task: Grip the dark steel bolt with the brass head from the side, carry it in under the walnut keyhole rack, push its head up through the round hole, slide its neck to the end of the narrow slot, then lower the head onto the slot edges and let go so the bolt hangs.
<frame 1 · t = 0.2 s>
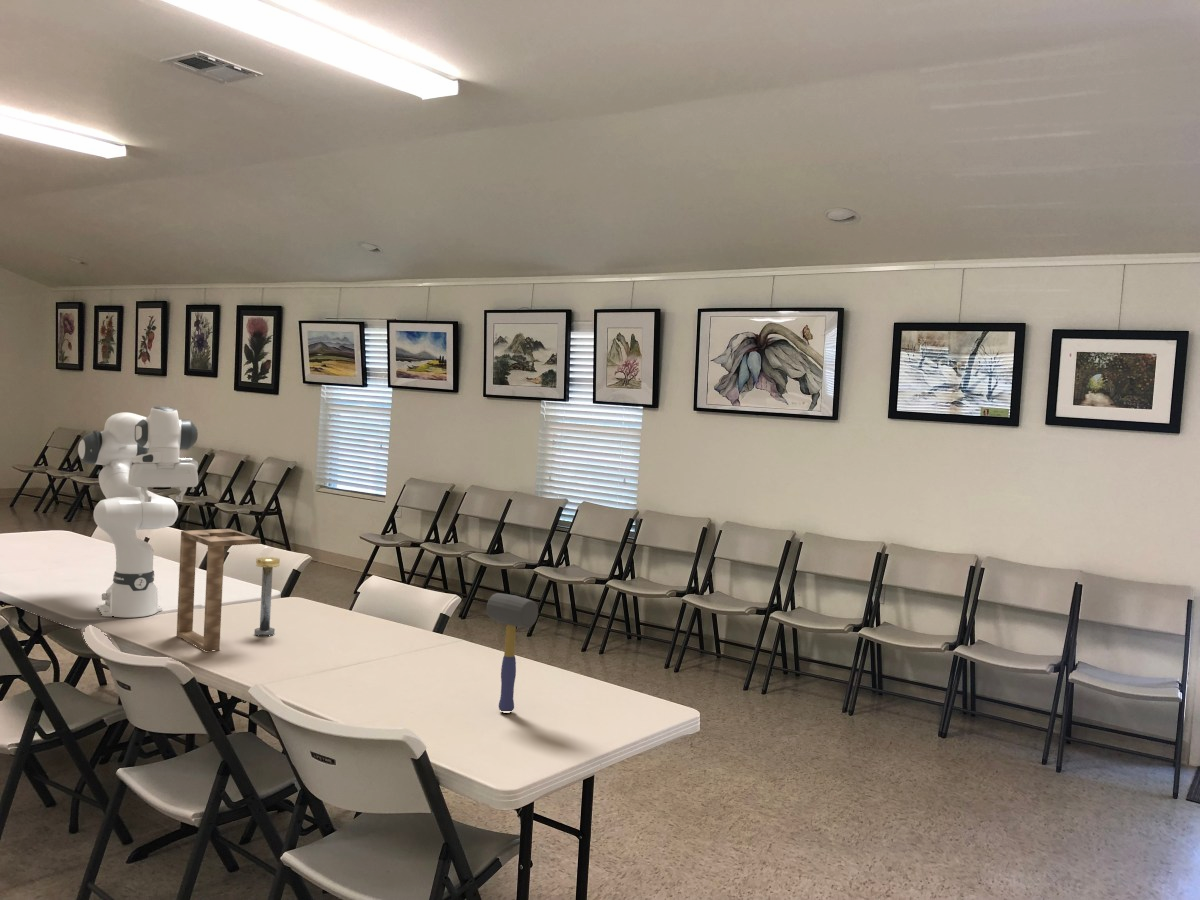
hand: (163, 501, 295), 40 cm above the table, tool pointing down, fingers open, 8 cm apart
keyhole rack: (214, 640, 287), on the table
hanger bolt: (264, 634, 298), on the table
rubber mallet: (505, 713, 238), on the table
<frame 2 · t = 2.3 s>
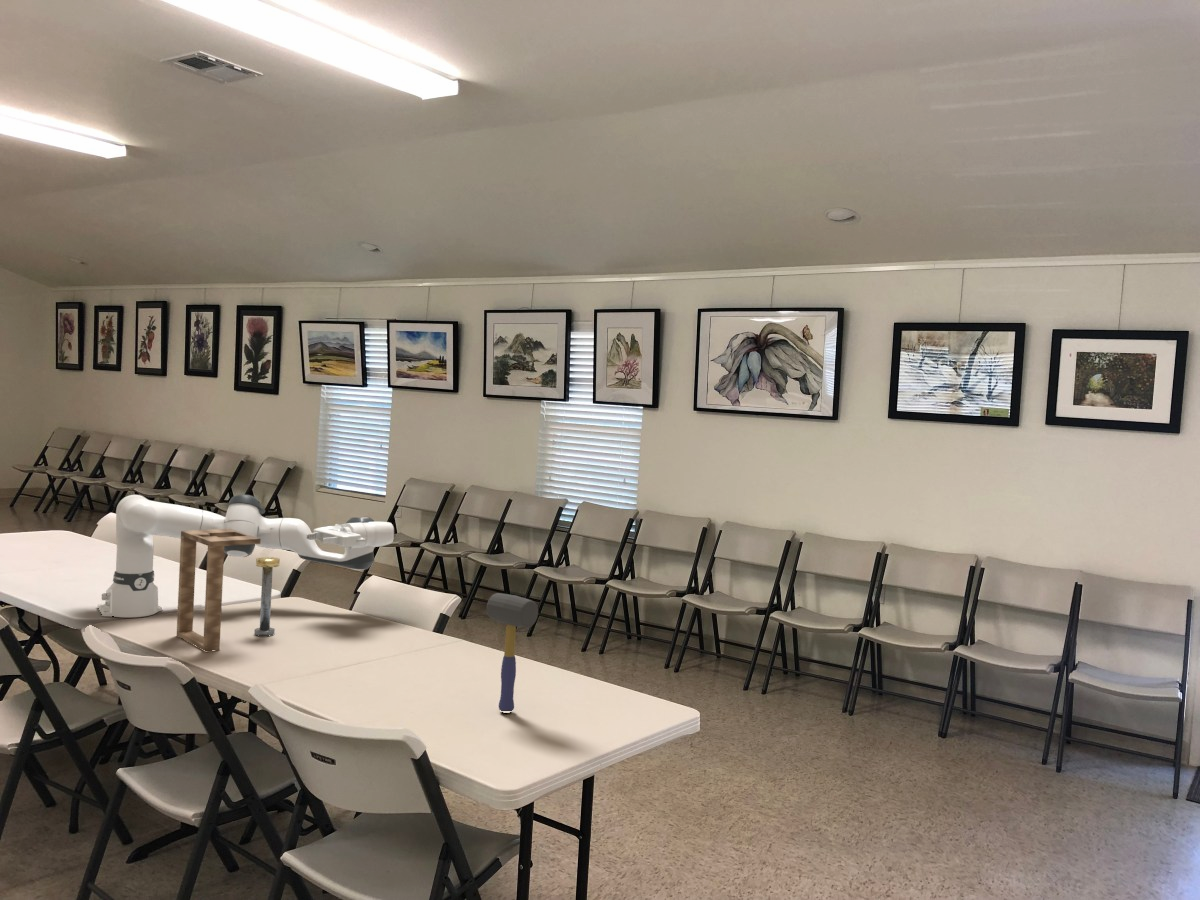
hand: (315, 538, 309), 29 cm above the table, tool horizontal, fingers open, 8 cm apart
nothing on the table moved.
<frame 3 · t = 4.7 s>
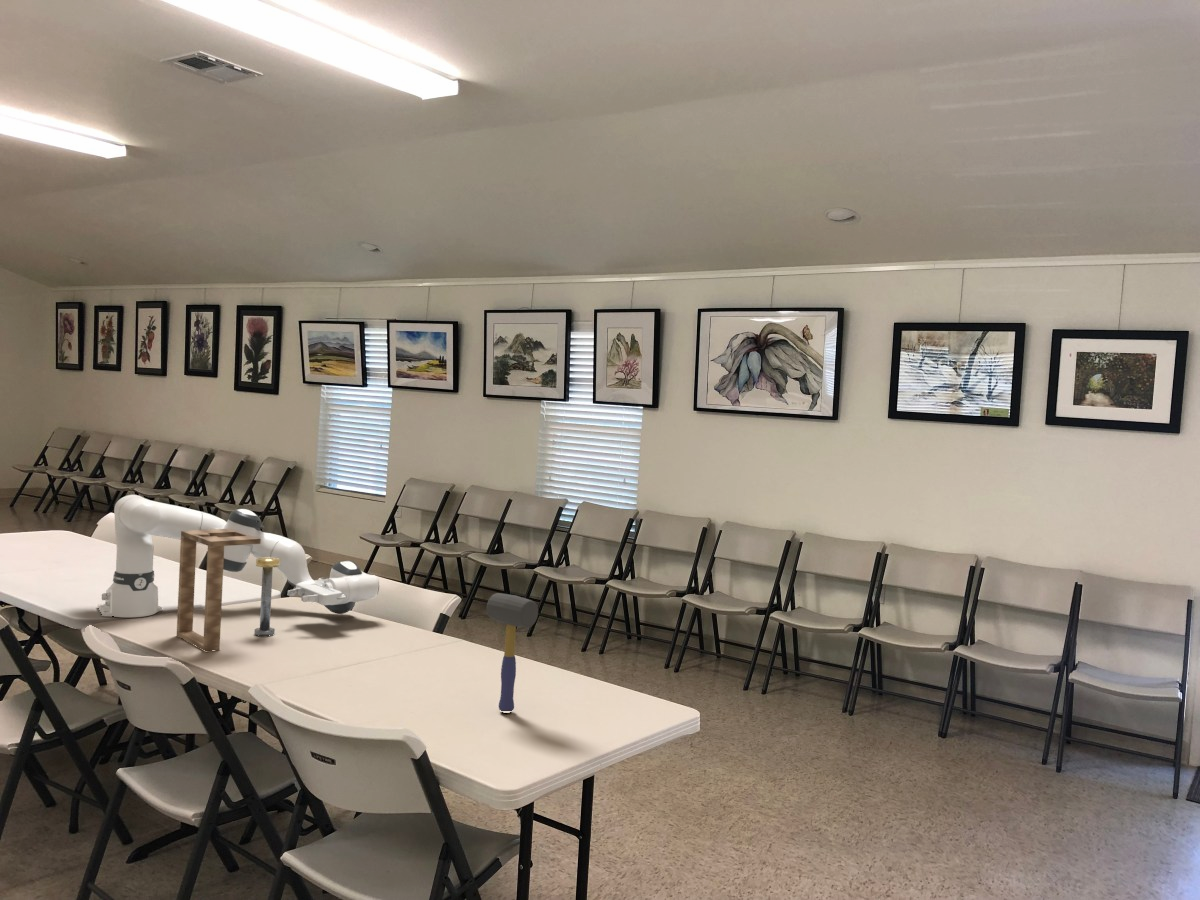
hand: (295, 596, 303), 12 cm above the table, tool horizontal, fingers open, 8 cm apart
nothing on the table moved.
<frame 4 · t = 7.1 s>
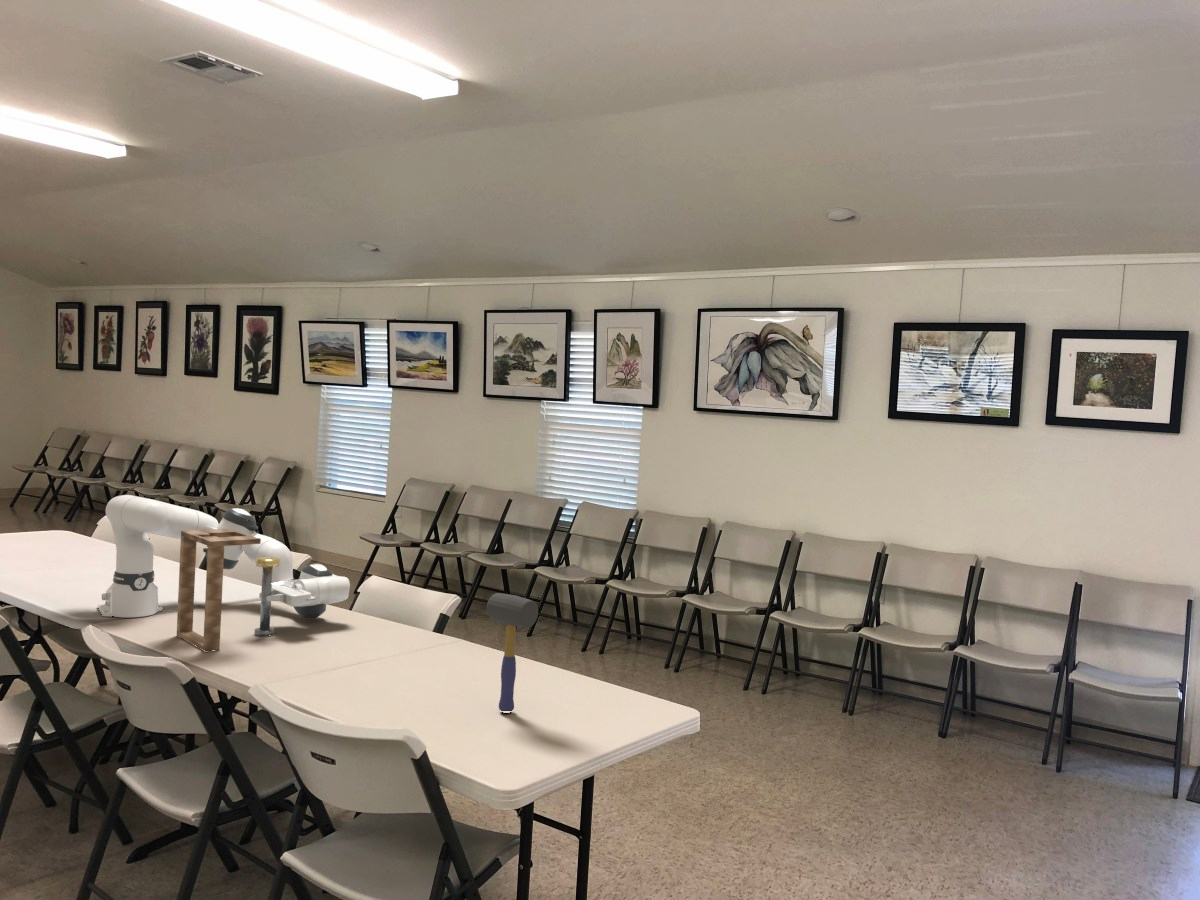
hand: (263, 597, 297), 12 cm above the table, tool horizontal, fingers closed on hanger bolt, 3 cm apart
hanger bolt: (264, 634, 298), on the table, touching gripper
everything else where it was.
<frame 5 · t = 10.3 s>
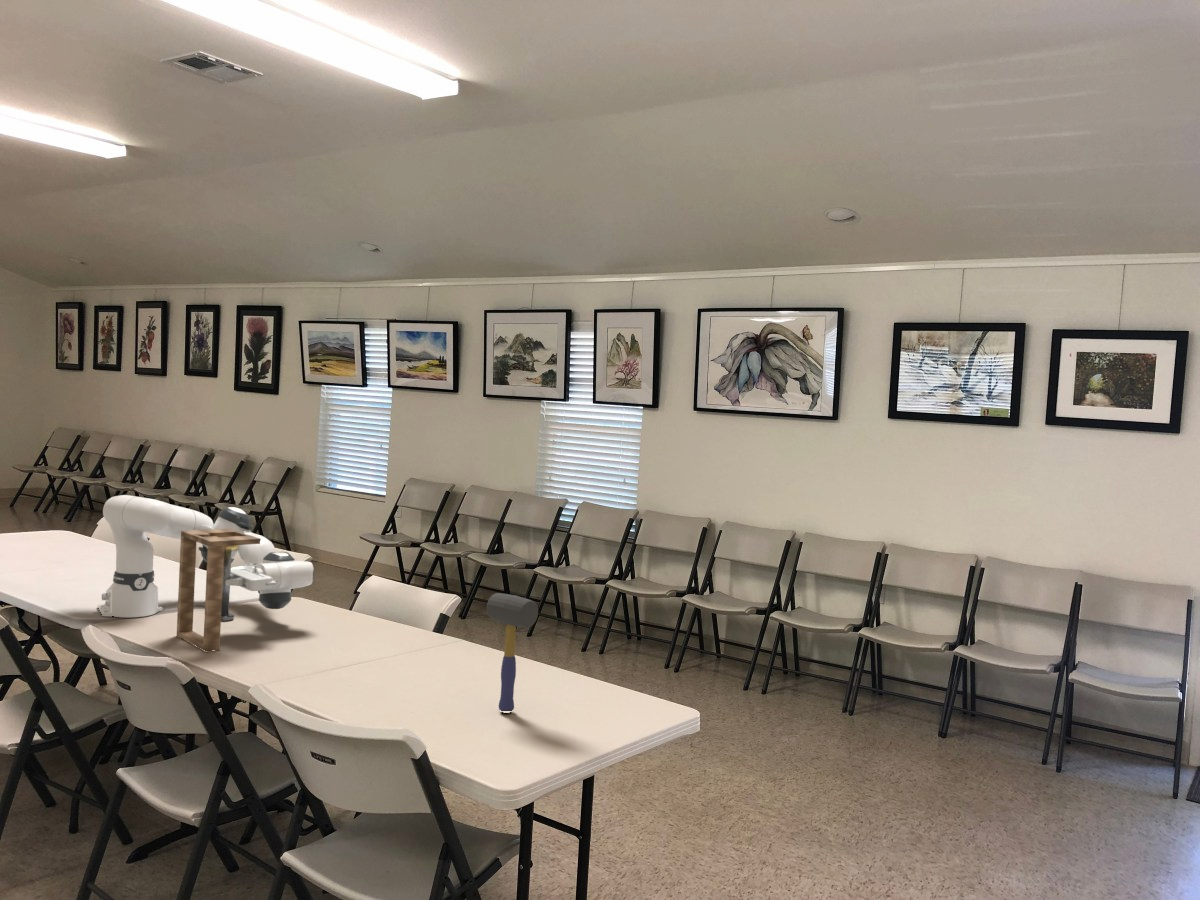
hand: (221, 581, 287), 18 cm above the table, tool horizontal, fingers closed on hanger bolt, 3 cm apart
hanger bolt: (223, 619, 288), point 6 cm above the table, touching gripper
everything else where it was.
when the fingers open (23 cm above the table, at t = 13.4 s): hanger bolt stays where it is, resting on keyhole rack.
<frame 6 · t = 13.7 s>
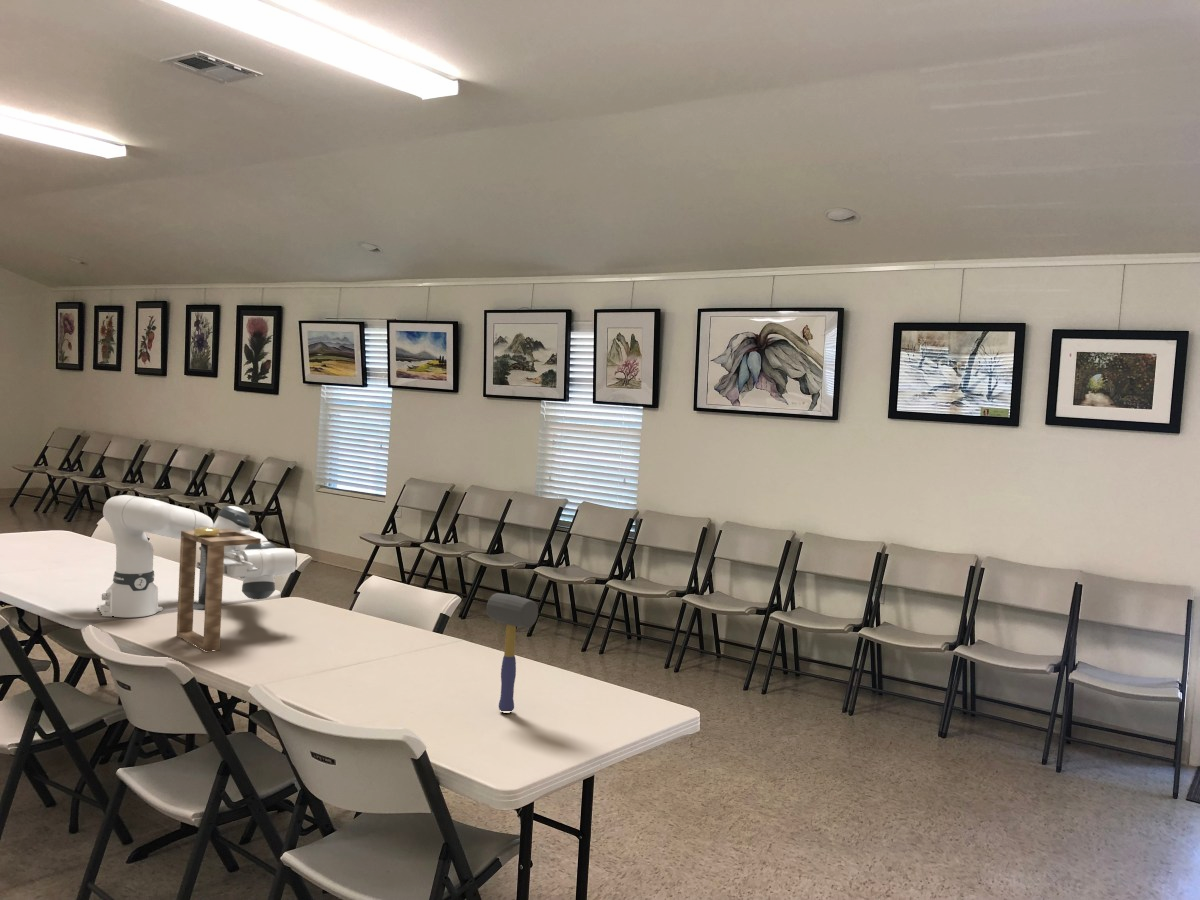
hand: (202, 567, 283), 23 cm above the table, tool horizontal, fingers open, 5 cm apart
hanger bolt: (203, 608, 284), point 11 cm above the table, touching keyhole rack
everything else where it was.
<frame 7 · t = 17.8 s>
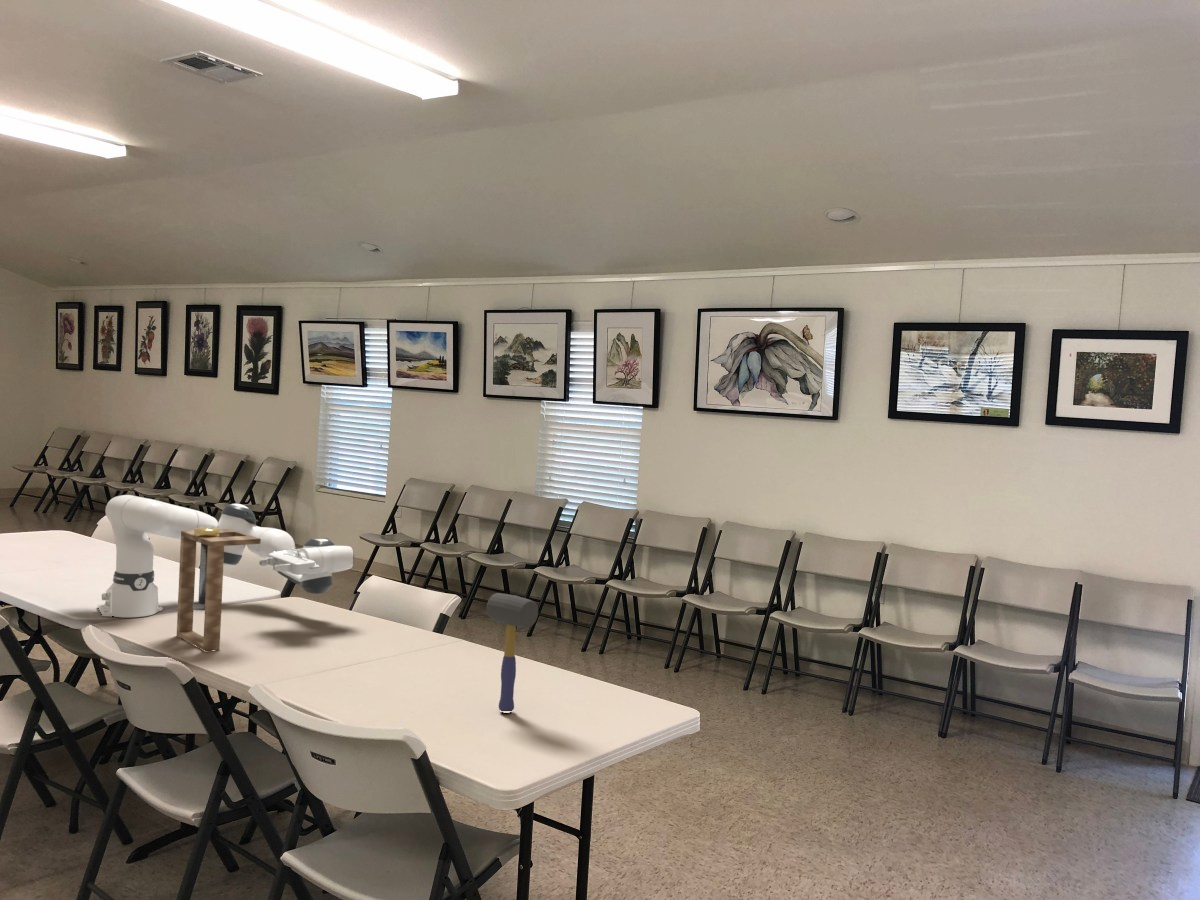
hand: (267, 565, 295), 22 cm above the table, tool horizontal, fingers open, 8 cm apart
nothing on the table moved.
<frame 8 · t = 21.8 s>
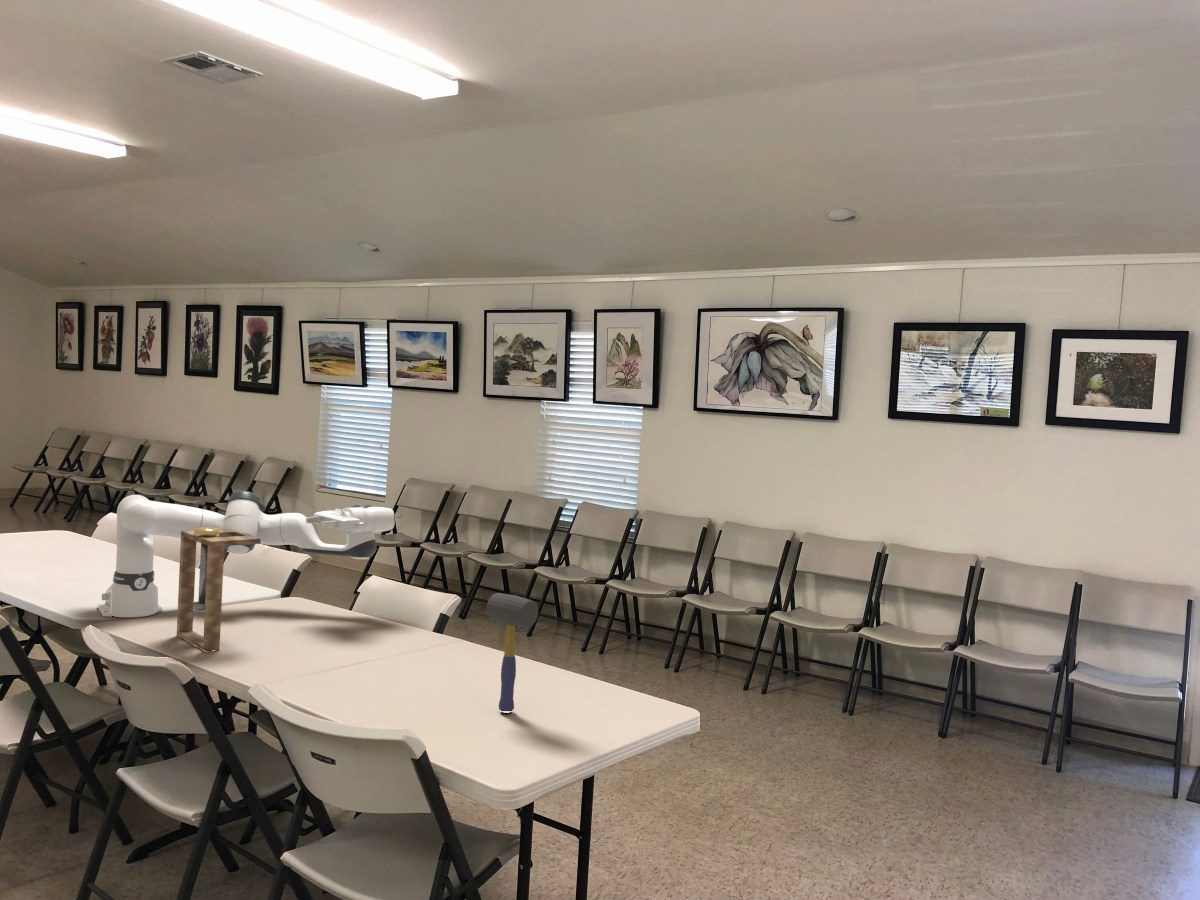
hand: (313, 522, 307), 35 cm above the table, tool horizontal, fingers open, 8 cm apart
nothing on the table moved.
at the end: hanger bolt 0.0 cm from the target spot on the keyhole rack, point 10.5 cm above the keyhole rack's base; hanger bolt tilted 0°; the gripper is holding nothing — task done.
